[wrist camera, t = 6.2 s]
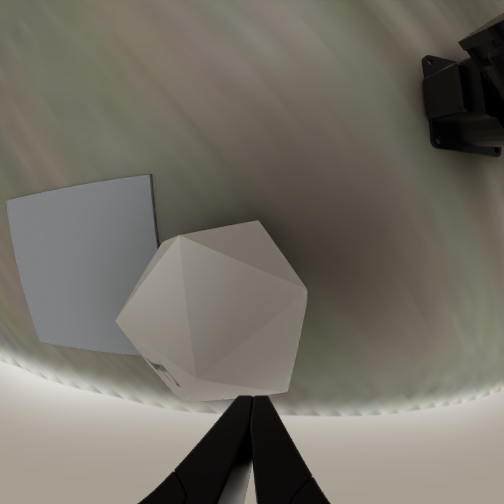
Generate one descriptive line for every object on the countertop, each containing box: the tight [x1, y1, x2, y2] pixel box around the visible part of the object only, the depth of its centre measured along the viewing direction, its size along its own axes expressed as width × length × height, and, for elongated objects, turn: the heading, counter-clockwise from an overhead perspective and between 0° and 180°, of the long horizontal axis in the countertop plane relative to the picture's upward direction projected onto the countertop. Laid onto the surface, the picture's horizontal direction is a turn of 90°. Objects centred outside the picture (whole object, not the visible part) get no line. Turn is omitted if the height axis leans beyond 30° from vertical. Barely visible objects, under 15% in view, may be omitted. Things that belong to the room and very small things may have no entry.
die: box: [116, 220, 307, 402], centre depth 15 cm, size 8×9×10 cm
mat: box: [6, 174, 159, 356], centre depth 20 cm, size 14×13×1 cm
